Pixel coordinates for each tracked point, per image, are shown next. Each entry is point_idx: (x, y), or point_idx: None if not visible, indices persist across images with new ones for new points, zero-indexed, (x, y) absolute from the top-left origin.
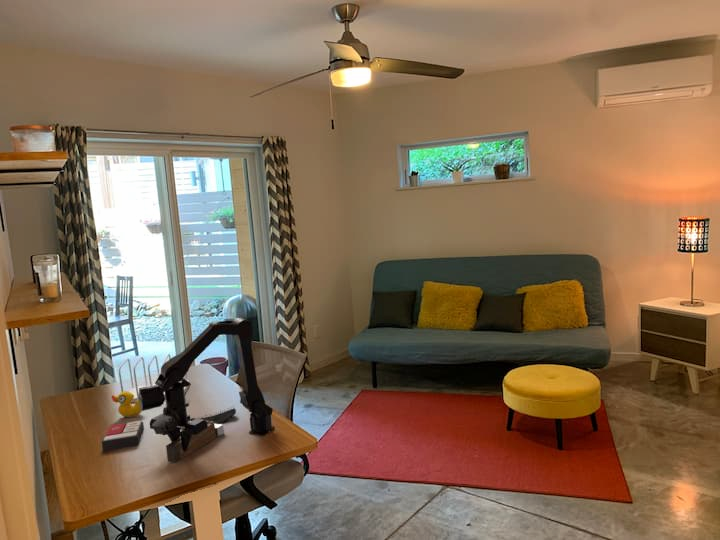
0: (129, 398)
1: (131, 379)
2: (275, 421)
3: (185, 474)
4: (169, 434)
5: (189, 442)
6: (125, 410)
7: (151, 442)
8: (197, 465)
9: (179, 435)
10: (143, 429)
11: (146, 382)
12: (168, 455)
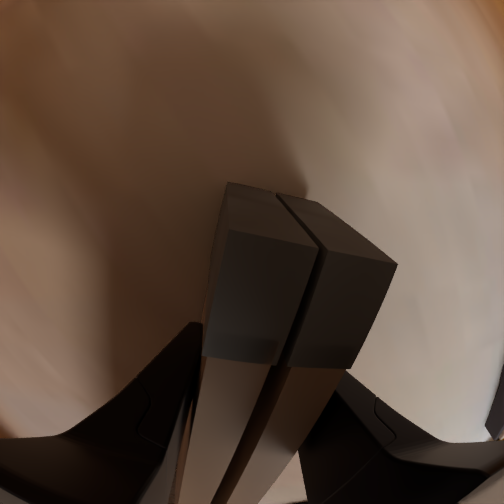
0: None
1: None
2: None
3: (44, 43)
4: (417, 459)
5: (189, 419)
6: None
7: (469, 385)
8: (25, 182)
9: (126, 482)
10: (487, 423)
11: None
12: (319, 213)
